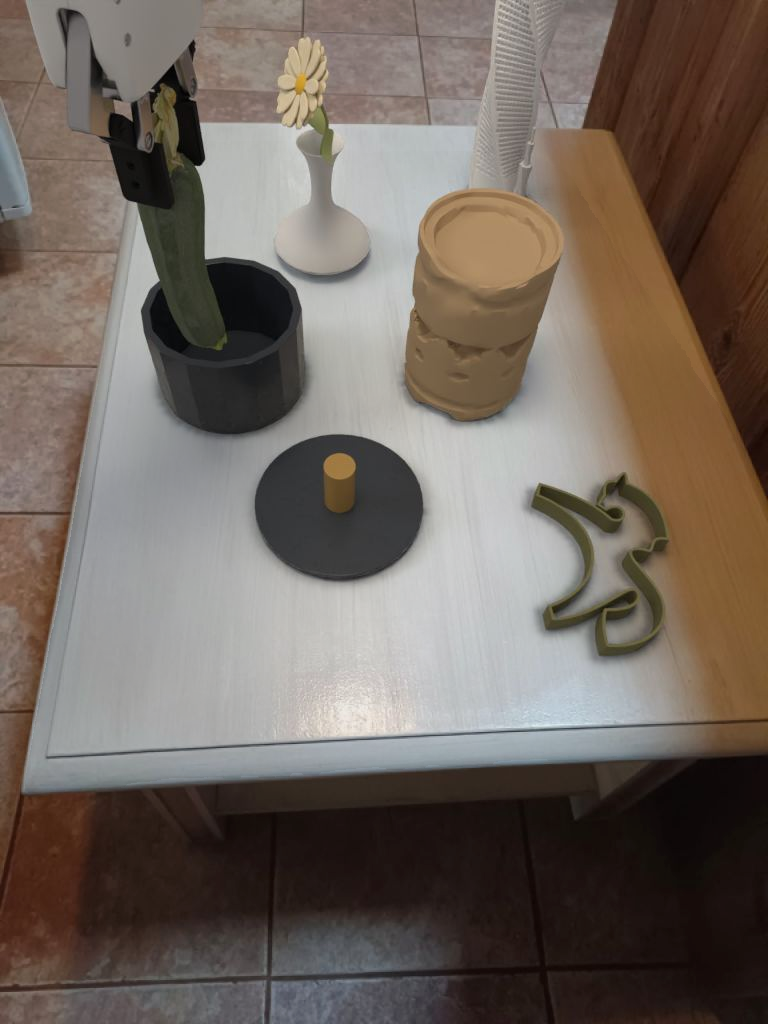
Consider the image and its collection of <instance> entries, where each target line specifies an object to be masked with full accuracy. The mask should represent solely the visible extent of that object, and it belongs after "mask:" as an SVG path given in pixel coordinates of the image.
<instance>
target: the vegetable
mask: <svg viewBox="0 0 768 1024" xmlns="http://www.w3.org/2000/svg"><path fill="white" fill-rule="evenodd" d="M160 87H161V92H160V94H159V93H158V94H157V95H158V97H157V98H156V99H155V102H154V104H153V110H154V111H155V112H154V113H152V122H153V130H154V140H155V142H158V143H161V144H163V148H164V152H165V157H166V162H167V167H168V171H169V176H170V181H171V186H172V190H173V195H174V200H175V203H174V204H173V206H172V207H171V209H169V210H166V209H162V208H157V207H153V206H149V205H144V204H140V203H136V206H137V211H138V215H139V219H140V221H141V225H142V229H143V232H144V236H145V240H146V243H147V247H148V250H149V252H150V254H151V258H152V262H153V265H154V266H153V267H154V269H155V272H156V275H157V278H158V281H160V283H161V285H162V289H163V292H164V294H165V297H166V300H167V303H168V306H169V309H170V311H171V314H172V316H173V318H174V320H175V322H176V324H177V325H178V327H179V329H180V331H181V332H182V334H183V336H184V337H185V338H186V340H187V341H189V342H190V343H191V344H193V345H196V346H199V347H202V348H206V347H207V348H208V347H211V348H213V349H216V350H221V349H222V346H223V343H225V344H226V343H227V336H226V334H225V325H224V323H223V319H222V316H221V313H220V310H219V307H218V303H217V300H216V297H215V293H214V290H213V288H212V285H211V283H210V280H209V277H208V272H207V267H206V261H205V259H206V249H205V248H206V203H205V192H204V188H203V182H202V179H201V176H200V175H201V174H200V173H199V171H198V169H197V166H194V164H193V163H192V161H190V160H189V159H188V158H187V157H186V156H184V155H183V154H182V153H179V152H177V151H176V149H177V146H178V141H179V133H178V123H177V117H176V115H175V109H174V108H173V107H172V106H174V104H175V103H176V94H175V91H174V90H173V89H172V88H170V87H169V86H168V87H167V86H166V85H165V84H164V83H162V84H160Z"/></svg>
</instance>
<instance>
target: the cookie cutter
mask: <svg viewBox="0 0 768 1024" xmlns="http://www.w3.org/2000/svg"><path fill="white" fill-rule="evenodd" d="M616 487H617V489H618V496H619V497H622V498H624V499H626V500H628V501H630V502H631V503H633V504H635V505H636V506H638V507H639V508H640V509H641V510H642V511H643V513H644V514H645V515H646V516H647V517H648V519H649V521H650V523H651V525H652V527H653V530H654V533H655V536H656V537H655V538H653V540H652V541H651V542H650V544H649V545H648V547H631V548H630V549H629V550H628V552H627V553H626V555H625V556H624V557H623V559H622V560H621V566H622V568H623V569H624V571H625V573H626V574H627V575H628V577H629V578H630V579H631V581H632V582H633V583H634V584H635V585H636V586H637V588H638V589H639V590H640V591H641V592H642V594H643V595H644V597H645V598H646V600H647V601H648V603H649V605H650V608H651V611H652V614H653V626H652V629H651V631H650V633H649V634H647V636H645V637H643V638H641V639H638V640H635V641H632V642H626V643H609V640H608V634H607V628H606V627H607V625H606V621H614V620H618V619H622V618H625V617H626V616H628V615H629V614H630V613H631V612H632V610H633V609H634V608H635V607H636V606H637V605H638V603H639V602H640V599H641V593H640V591H639V590H638V589H637V588H635V587H629V588H626V589H624V590H622V591H620V592H618V593H617V594H614V595H613V596H612V597H609V598H608V599H606V600H604V601H602V602H600V603H599V604H597V605H594V606H592V607H590V608H588V609H586V610H583V611H580V612H576V613H573V614H570V615H566V616H564V615H563V616H557V617H556V616H555V613H557V612H559V611H560V610H562V609H564V608H565V607H567V606H568V605H569V604H570V603H572V602H573V601H574V600H575V599H576V597H577V596H578V595H579V594H580V592H581V590H583V588H584V586H585V585H586V583H587V582H588V580H589V578H590V577H591V574H592V571H593V568H594V565H595V549H594V545H593V542H592V539H591V537H590V535H589V533H588V531H587V530H586V528H585V527H584V526H583V524H582V523H581V522H580V521H579V520H578V518H576V516H575V515H574V514H573V513H571V512H570V511H573V512H575V513H577V514H578V515H580V516H582V517H584V518H586V519H587V520H588V521H590V522H592V523H593V524H595V526H597V527H598V528H600V529H601V530H602V531H603V532H605V533H614V532H616V531H617V530H618V529H619V527H620V525H621V524H622V523H623V521H624V519H625V518H626V510H625V509H624V508H623V507H621V506H619V505H609V506H607V507H605V506H604V505H602V503H603V501H604V500H605V498H606V496H607V495H611V493H612V492H613V491H614V489H616ZM530 506H531V508H532V509H535V510H537V511H539V512H542V513H543V514H545V515H547V516H549V517H550V518H552V519H553V520H555V521H556V522H558V523H559V524H560V525H561V526H563V527H564V528H565V529H566V530H567V531H568V532H569V533H570V534H571V535H572V537H573V538H574V540H576V543H577V544H578V546H579V548H580V550H581V553H582V556H583V561H584V573H583V577H582V581H581V583H580V585H578V587H576V588H575V589H574V590H573V591H572V592H571V593H569V594H568V595H566V596H564V597H563V598H561V599H559V600H557V601H555V602H552V603H549V604H548V605H547V606H546V608H545V609H544V611H543V613H542V618H543V622H544V626H545V629H546V630H559V629H565V628H568V627H571V626H574V625H577V624H580V623H582V622H584V621H587V620H589V619H591V618H593V617H595V616H597V615H598V614H599V615H598V616H597V618H596V620H595V621H596V622H595V629H594V631H595V632H594V634H595V635H594V636H595V644H596V649H597V653H598V656H601V657H603V656H604V657H606V656H607V657H610V656H611V657H613V656H621V655H626V654H629V653H632V652H635V651H637V650H639V649H641V648H643V647H644V646H645V645H646V644H647V643H648V642H649V641H650V640H652V639H653V637H654V636H655V635H656V634H657V633H658V632H659V631H660V629H661V628H662V626H663V625H664V622H665V620H666V612H667V611H666V610H667V609H666V604H665V600H664V598H663V594H662V593H661V591H660V590H659V587H658V586H657V585H656V583H655V582H654V581H653V580H652V578H651V577H650V576H649V574H647V572H646V571H645V570H644V569H643V568H642V566H641V565H640V564H639V563H643V562H645V561H646V559H647V558H648V556H649V555H650V554H651V552H653V551H660V552H662V551H663V549H664V548H666V545H667V544H668V543H669V542H670V532H669V528H668V523H667V520H666V517H665V514H664V512H663V510H662V509H661V507H660V505H659V504H658V503H657V501H656V500H655V499H654V497H652V496H651V495H650V493H647V492H646V491H645V490H644V489H642V488H641V487H639V486H637V485H635V484H632V483H631V482H629V477H628V473H627V472H626V471H622V472H621V473H619V475H618V476H616V478H615V479H609V480H607V481H606V482H605V483H604V484H603V486H602V488H601V489H600V491H599V493H598V495H597V497H596V505H595V504H593V503H591V502H590V501H588V500H586V499H584V498H583V497H580V496H578V495H575V494H573V493H570V492H568V491H566V490H563V489H561V488H557V487H555V486H553V485H548V484H546V483H542V482H538V484H537V487H536V489H535V490H534V494H533V498H532V501H531V505H530ZM569 510H570V511H569ZM623 601H627V602H628V605H626V606H625V605H624V606H620V607H613V606H615V605H616V604H618V603H620V602H623Z"/></svg>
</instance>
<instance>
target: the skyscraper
mask: <svg viewBox="0 0 768 1024" xmlns="http://www.w3.org/2000/svg"><path fill="white" fill-rule="evenodd" d="M566 2H567V0H495V5H494V14H493V23H492V34H491V47H490V64H489V65H490V66H489V71H488V75H487V78H486V82H485V85H484V89H483V93H482V98H481V103H480V106H479V112H478V116H477V122H476V127H475V132H474V133H475V134H474V140H473V147H472V154H471V163H470V171H469V178H468V179H469V180H468V189H473V188H489V189H498V190H503V191H508V192H512V193H515V194H518V195H520V196H523V197H526V192H527V185H528V180H529V177H530V174H531V171H532V169H533V166H534V164H532V162H531V159H532V154H533V150H534V147H535V144H536V142H534V140H535V135H536V132H537V127H536V126H537V120H538V113H539V105H540V104H539V103H540V92H541V70H542V68H543V67H542V66H543V65H544V62H545V61H546V57H547V55H548V52H549V50H550V48H551V45H552V42H553V41H554V37H555V34H556V31H557V29H558V26H559V24H560V21H561V18H562V15H563V12H564V9H565V6H566V4H567V3H566Z"/></svg>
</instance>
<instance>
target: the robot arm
mask: <svg viewBox="0 0 768 1024" xmlns="http://www.w3.org/2000/svg"><path fill="white" fill-rule="evenodd" d="M24 1H25V5H26V9H27V11H28V15H29V19H30V22H31V26H32V30H33V33H34V36H35V41H36V44H37V46H38V50H39V54H40V56H41V59H42V63H43V66H44V69H45V70H46V74H47V76H48V78H49V80H50V83H52V85H53V87H54V88H57V89H60V90H66V123H67V126H68V128H69V130H70V131H73V132H77V133H81V134H85V135H86V134H87V135H91V136H96V137H98V138H99V140H100V141H101V142H102V143H103V144H106V145H108V147H109V151H110V154H111V155H110V156H111V158H112V162H113V165H114V169H115V172H116V176H117V181H118V183H119V187H120V191H121V193H122V196H123V198H124V199H125V200H126V201H129V202H132V203H135V204H137V203H140V204H144V205H149V206H153V207H157V208H162V209H166V210H169V209H171V207H172V206H173V204H174V203H175V200H174V195H173V190H172V186H171V181H170V176H169V171H168V167H167V162H166V157H165V152H164V148H163V144H161V143H158V142H155V140H154V130H153V122H152V113H154V112H155V111H154V110H153V104H154V102H155V99H156V98H157V97H158V95H157V94H158V93H159V94H160V92H161V87H160V84H162V83H164V84H165V85H166V86H167V87H168V86H169V87H170V88H172V89H173V90H174V91H175V94H176V103H175V104H174V106H172V107H173V108H174V109H175V115H176V117H177V123H178V133H179V141H178V146H177V149H176V151H177V152H179V153H182V154H183V155H184V156H186V157H187V158H188V159H189V160H190V161H192V163H193V164H194V166H195V167H201V166H203V164H204V162H205V161H206V153H205V148H204V140H203V133H202V128H201V122H200V116H199V110H198V104H197V100H193V99H195V97H196V96H197V93H198V87H199V86H198V79H197V75H196V74H197V73H196V71H195V68H194V67H195V66H194V58H195V53H196V51H197V48H196V45H197V43H196V41H195V38H196V37H197V35H198V34H199V32H200V30H201V28H202V25H203V21H204V0H24ZM150 90H153V91H150ZM115 101H117V102H123V103H126V104H130V105H129V106H130V112H131V118H132V119H130V118H128V117H126V116H125V115H124V114H121V113H116V108H115Z"/></svg>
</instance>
